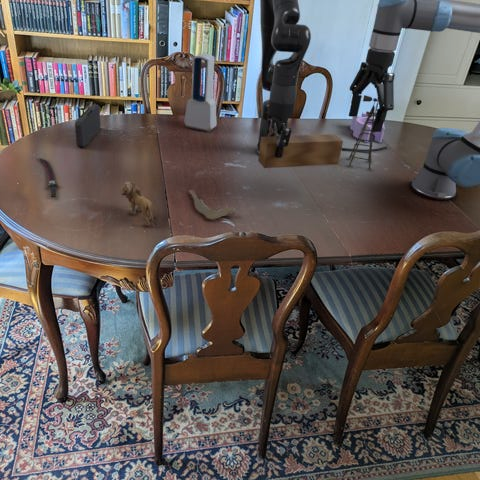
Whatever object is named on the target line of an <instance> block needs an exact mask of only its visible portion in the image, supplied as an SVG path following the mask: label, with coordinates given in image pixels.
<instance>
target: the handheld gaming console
mask: <svg viewBox="0 0 480 480" xmlns="http://www.w3.org/2000/svg"><path fill="white" fill-rule="evenodd" d="M99 130H101V112H100V105H99V104H95V103H94V104H91V105H90V106H89V107H88V108H87V109H85V111H84V112H83V113H82V114H81V115H79V117H78V118H77V119H76V120H75V122H74V131H75V141H76V146H77V147H79V148H85V147H86V146H87V145H88V144H89V143H90V141H91V140H92V139H93V137H95V136H96V134H97V133H98V132H99Z"/></svg>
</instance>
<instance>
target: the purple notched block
mask: <svg viewBox="0 0 480 480" xmlns="http://www.w3.org/2000/svg"><path fill="white" fill-rule="evenodd" d="M367 117H368V116H367V115H366V112H361V115H357V116H353V117H352V118H351V122H350V126H349V129H350V130H351V131H353V132H352V136H353V137H354V138H356V139H358V137H359V135H360V133H361V129H362V128H363V126H364V124H365V122H366V118H367ZM372 118H373V117H372ZM372 118H370V119H371V120H372ZM374 121H375V118H374ZM368 122H372V121H370V120H369V121H368ZM373 125H374V124H373ZM371 128H372V123H368V124H367V126H366V129H368V130H371ZM385 129H386V127H385V122H384V123H383V126H382V130H381V132H373V136H374V139H373V140H374V142H376V143H382V140H383V137H384V132H385ZM364 133H370V134H371V131H367V130H365V131H364ZM361 135H362V134H361ZM360 137H361V136H360ZM370 137H371V135H369V134H363V136H362V138H361V139H363V140H370ZM363 142H364V143H368V142H369V141H363Z"/></svg>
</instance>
